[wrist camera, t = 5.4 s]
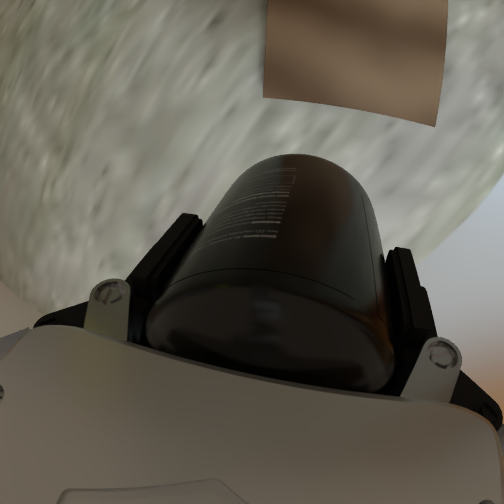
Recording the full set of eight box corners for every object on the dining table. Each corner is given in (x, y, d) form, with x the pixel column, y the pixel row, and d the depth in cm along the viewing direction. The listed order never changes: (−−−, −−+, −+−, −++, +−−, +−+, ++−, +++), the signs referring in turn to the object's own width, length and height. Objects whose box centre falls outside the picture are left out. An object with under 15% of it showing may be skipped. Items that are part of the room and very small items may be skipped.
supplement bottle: (223, 266, 17) (114, 488, 7) (231, 137, 13) (-2, 382, 3) (353, 295, 16) (330, 544, 6) (395, 170, 12) (480, 504, 2)
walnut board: (274, -73, 13) (271, -78, 12) (442, -46, 11) (446, -49, 10) (265, 96, 21) (262, 97, 20) (431, 124, 19) (434, 127, 18)
